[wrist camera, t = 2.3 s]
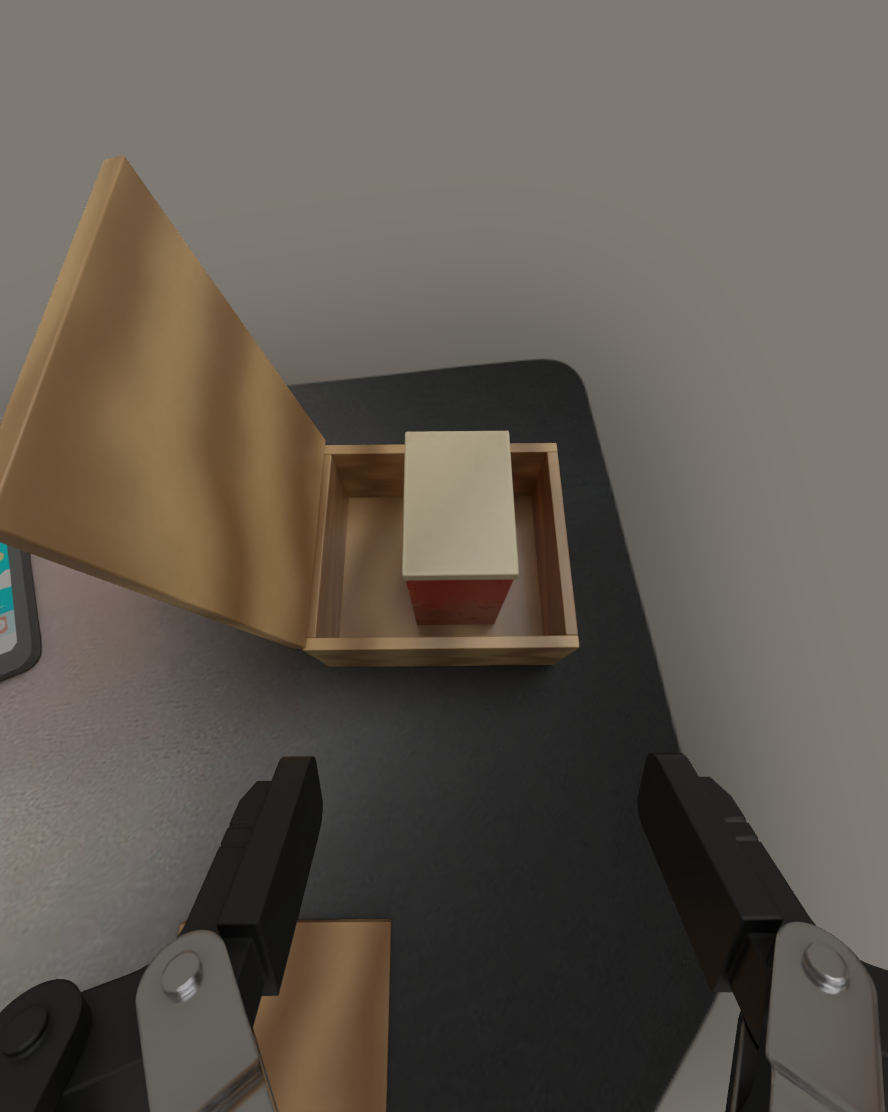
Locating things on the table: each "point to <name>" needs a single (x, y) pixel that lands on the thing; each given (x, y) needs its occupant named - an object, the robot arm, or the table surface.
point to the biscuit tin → (458, 526)
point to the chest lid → (160, 431)
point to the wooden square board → (330, 1018)
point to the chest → (381, 593)
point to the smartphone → (17, 613)
